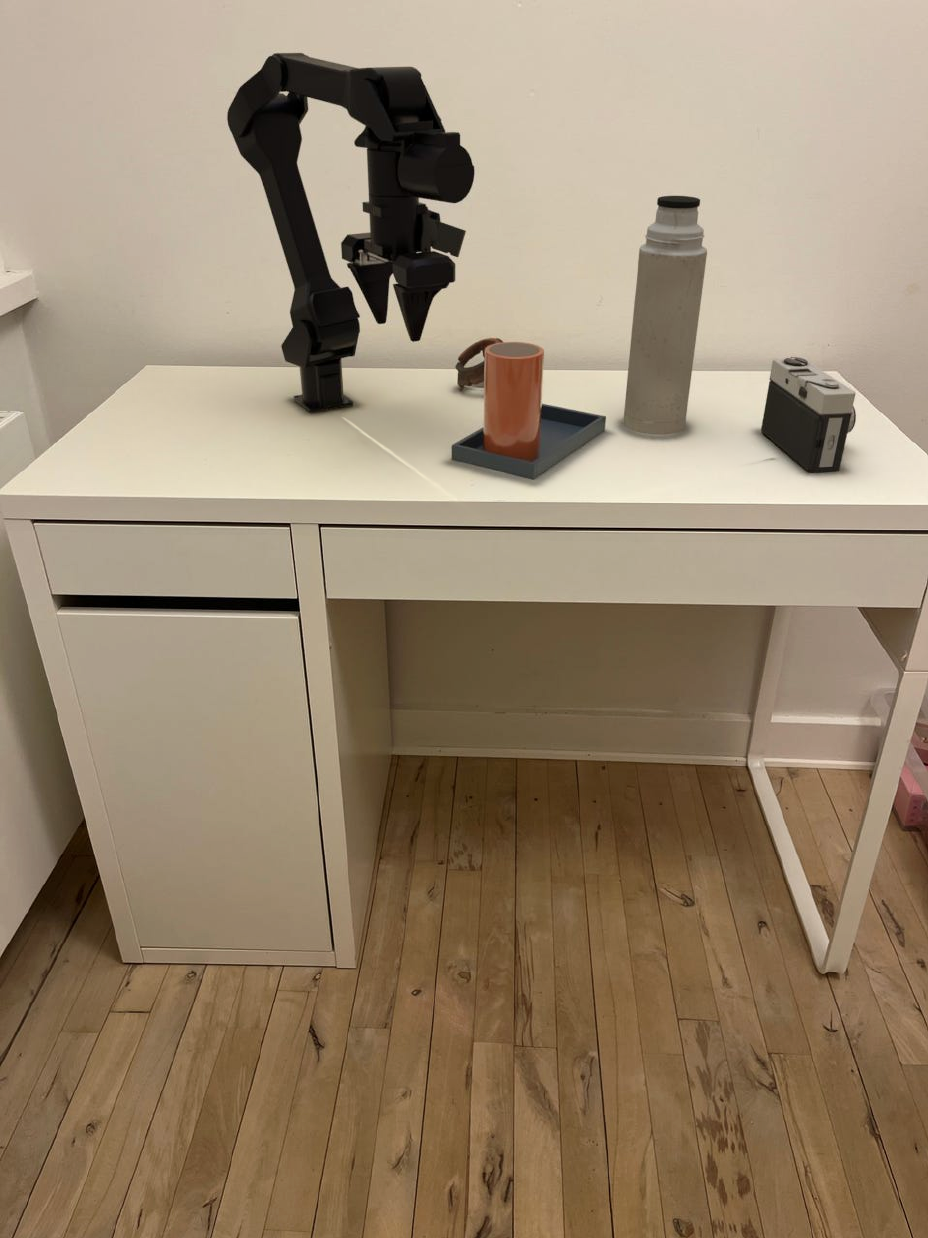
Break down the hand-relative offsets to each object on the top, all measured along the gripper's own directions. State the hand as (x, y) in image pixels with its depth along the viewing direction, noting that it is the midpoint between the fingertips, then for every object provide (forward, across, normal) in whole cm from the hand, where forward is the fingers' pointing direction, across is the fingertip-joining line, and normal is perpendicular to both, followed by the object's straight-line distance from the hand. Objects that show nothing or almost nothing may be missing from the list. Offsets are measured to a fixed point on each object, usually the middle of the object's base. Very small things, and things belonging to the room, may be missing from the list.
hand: (398, 331), depth 119 cm
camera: (+13, -30, -42) cm, 53 cm away
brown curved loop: (+13, +10, -20) cm, 26 cm away
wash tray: (+13, -12, -12) cm, 21 cm away
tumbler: (+12, -14, -8) cm, 20 cm away
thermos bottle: (+13, -14, -30) cm, 36 cm away
